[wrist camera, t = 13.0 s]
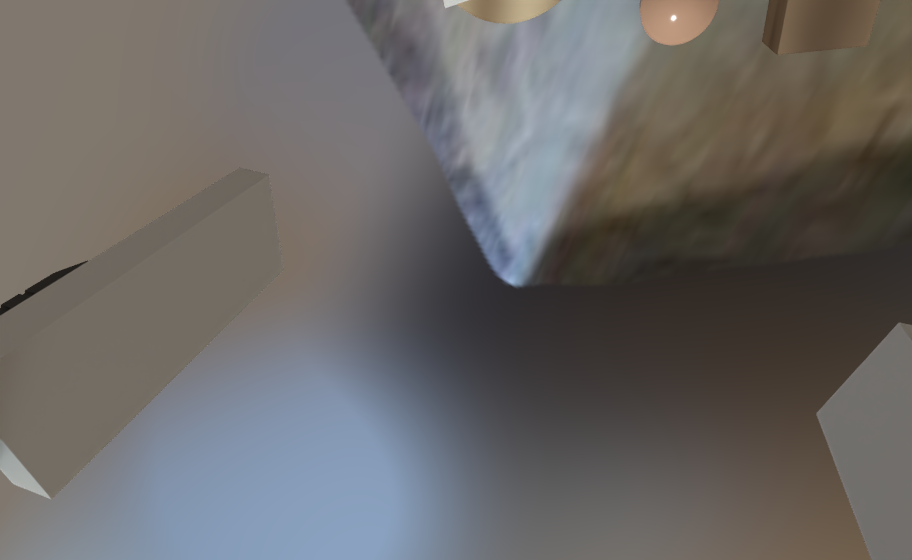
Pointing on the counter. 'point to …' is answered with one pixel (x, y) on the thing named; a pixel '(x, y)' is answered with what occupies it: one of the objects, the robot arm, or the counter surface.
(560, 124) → the counter surface
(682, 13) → the peach domed cylinder
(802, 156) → the counter surface
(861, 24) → the walnut cube
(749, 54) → the counter surface
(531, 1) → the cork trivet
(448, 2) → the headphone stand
